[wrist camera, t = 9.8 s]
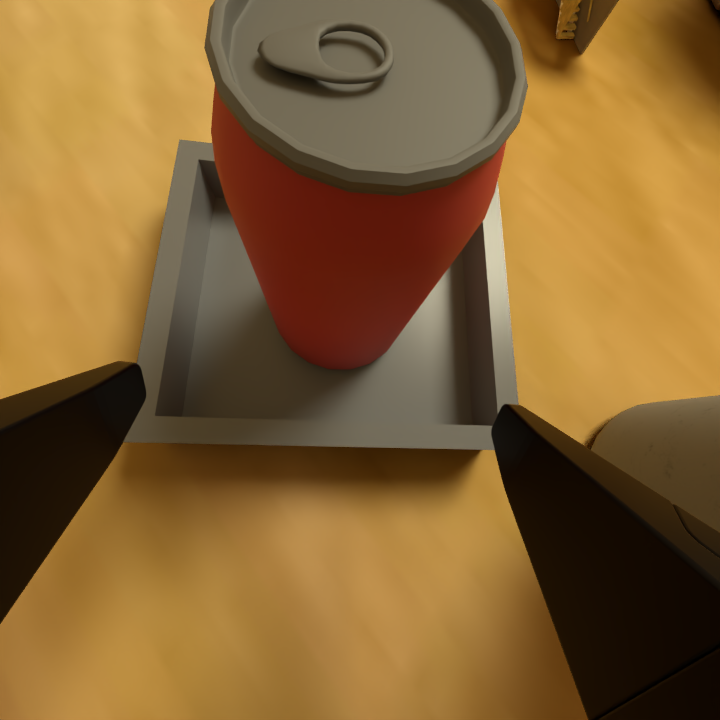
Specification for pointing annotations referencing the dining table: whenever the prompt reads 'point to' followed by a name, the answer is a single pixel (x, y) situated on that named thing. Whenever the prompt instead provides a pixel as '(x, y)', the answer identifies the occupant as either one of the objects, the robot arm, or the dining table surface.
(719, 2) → the plant pot
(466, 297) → the tray
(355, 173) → the beer can
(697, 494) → the water bottle
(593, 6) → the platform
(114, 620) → the dining table surface
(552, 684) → the dining table surface
